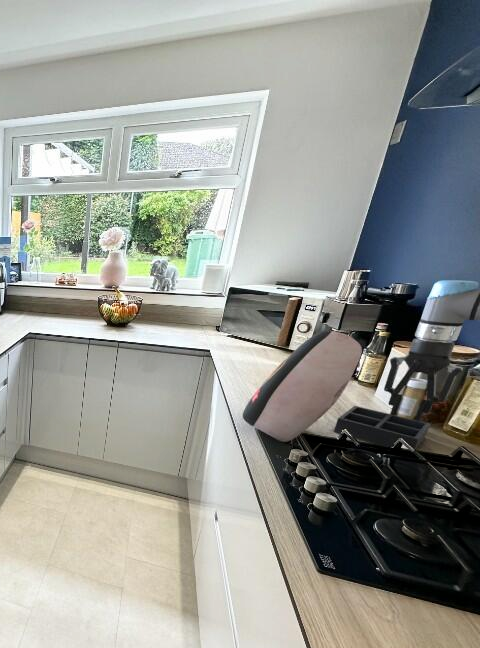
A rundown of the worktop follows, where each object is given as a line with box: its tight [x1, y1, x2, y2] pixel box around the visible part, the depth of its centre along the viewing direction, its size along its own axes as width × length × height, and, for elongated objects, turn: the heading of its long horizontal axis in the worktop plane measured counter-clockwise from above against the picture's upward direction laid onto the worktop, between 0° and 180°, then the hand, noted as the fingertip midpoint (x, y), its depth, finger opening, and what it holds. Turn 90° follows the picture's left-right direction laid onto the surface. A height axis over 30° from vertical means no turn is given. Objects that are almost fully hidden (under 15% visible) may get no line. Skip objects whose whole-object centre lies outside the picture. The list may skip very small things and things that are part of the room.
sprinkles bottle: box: [395, 377, 428, 420], centre depth 113 cm, size 5×5×13 cm
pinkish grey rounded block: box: [242, 330, 363, 443], centre depth 106 cm, size 22×20×30 cm
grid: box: [333, 405, 431, 450], centre depth 109 cm, size 15×15×5 cm
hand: (404, 419), depth 114 cm, fingers closed on sprinkles bottle, 4 cm apart
